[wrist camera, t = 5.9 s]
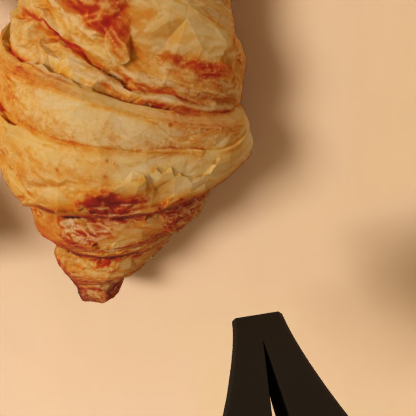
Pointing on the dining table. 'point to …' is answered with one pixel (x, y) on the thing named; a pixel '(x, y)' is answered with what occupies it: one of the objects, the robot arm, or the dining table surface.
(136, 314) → the dining table surface
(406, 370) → the dining table surface
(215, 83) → the croissant
